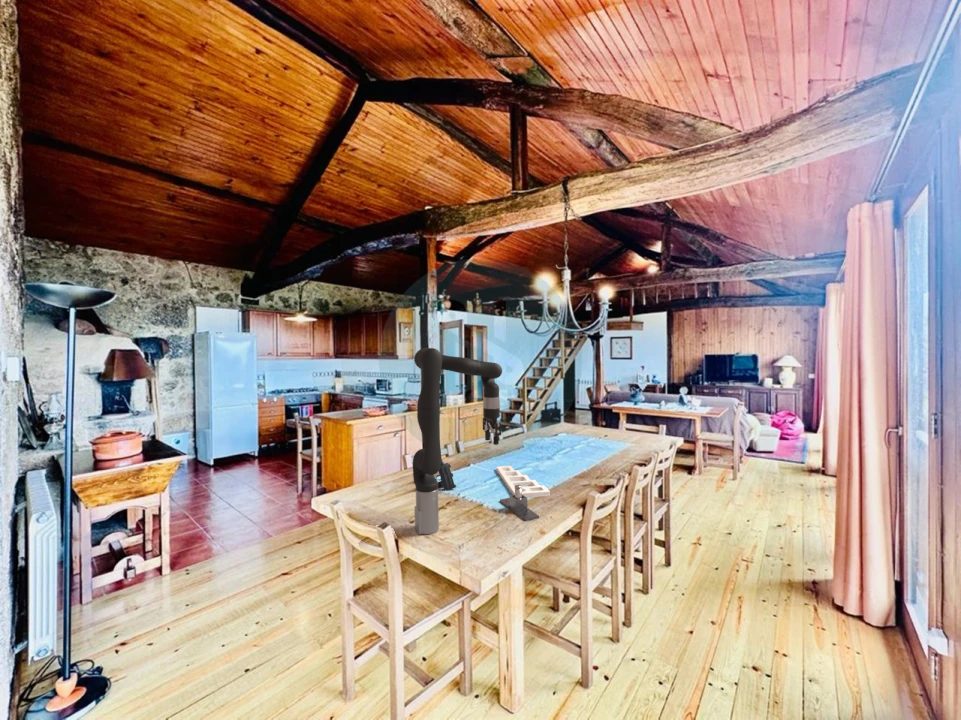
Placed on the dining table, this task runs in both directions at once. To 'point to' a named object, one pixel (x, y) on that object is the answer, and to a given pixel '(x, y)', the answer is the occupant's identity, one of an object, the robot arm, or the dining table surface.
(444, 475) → the gun
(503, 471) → the holder
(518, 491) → the pin
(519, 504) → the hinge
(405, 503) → the dining table surface
